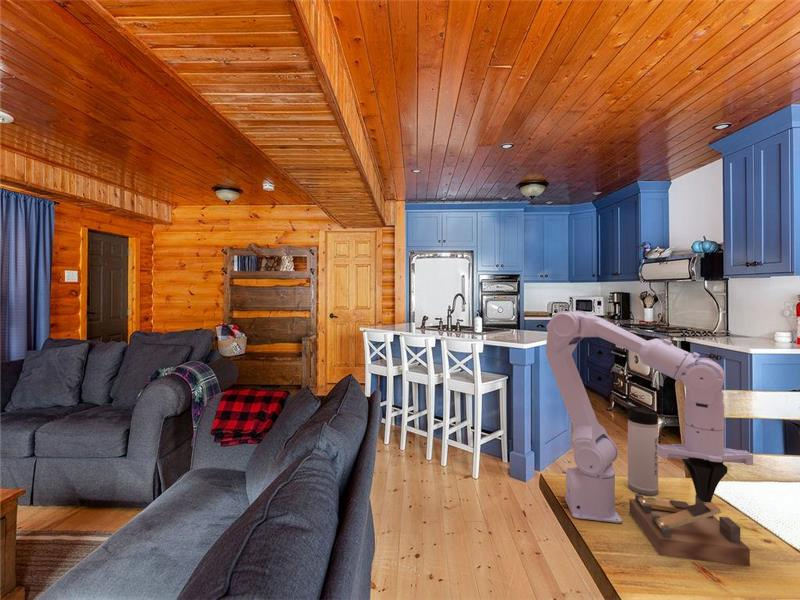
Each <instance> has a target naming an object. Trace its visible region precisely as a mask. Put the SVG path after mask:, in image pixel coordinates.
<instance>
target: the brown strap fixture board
mask: <svg viewBox="0 0 800 600" xmlns="http://www.w3.org/2000/svg"><path fill="white" fill-rule="evenodd" d="M638 497H642V498H644V495H643V494H639V493H635V494H634V498H629V502H628V503H629V505H628V506H629V507H628V508H629V514H630V516H631V517H632V519H633V520H634V521H635V522H636V524H637V525H638V527H639V529H640V530H641V531H642V532H643V534H644V536H645V537H646V538H647V539H648V541H649V542H650V544H651V545H652V547H653V548H654V550H655V551H656V552H657V553H658V555H659V556H664V557H672V558H673V557H674V558H681V559H688V560H695V561H697V560H698V561H705V562H713V563H722V564H728V565H729V564H731V565H735V566H737V565H738V566H747V567H750V566H751V563H750V561H751V558H750V557H751V549H750V548H749V546H748V545H747V544H745V543H744V542H743V541H742V540H741V526H739V525H738V524H737V523H736V522H735V521H734V520H732V519H731V518H730V517H727V516H719V519H718V518H717V517H716V516H715V515H713V516H710V517H707V518H704V519H700V520H697V521H694V522H690V523H687V524H684V525H681V526H677V527H674V528H671V529H670V528H669V527H665V526H661V528H660V527H659V526H658V525H657V523H656V522H655V519H656V518H661V517H664V516H668V515H671V514H674V513H677V512H672V511H666V510H660V509H653V508H651V505H650V504H644V503H643V506H642V505H641V503H640V502H639V501H638ZM694 500H695V504H697V503H701V502H702V501H701V500H700V499H699V498H698V497H697V496H696V494H695V499H694ZM702 503H703V504H706V503H709V502H702Z"/></svg>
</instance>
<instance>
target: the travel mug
mask: <svg viewBox="0 0 800 600" xmlns="http://www.w3.org/2000/svg"><path fill="white" fill-rule="evenodd" d="M626 410H627V415H628V417H627V487H628V488H629V489H630V490H631V491H632V490H633V491H632V492H634V491H636V492H635V493H637V492H638V493H637V494H639V493H642V494H641V495H643V494H647V495H646V496H656V495H658V493H659V455H658V454H657V445H659V414H658V412H656V411H655V410H652V409H649V408H646V407H642V406H636V405H626ZM648 494H649V495H648ZM655 494H656V495H655Z"/></svg>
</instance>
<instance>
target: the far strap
mask: <svg viewBox="0 0 800 600" xmlns="http://www.w3.org/2000/svg"><path fill="white" fill-rule="evenodd" d="M638 501H639V502H640V503H641V505H642V506H643V503H644V504H650V505H651V508H653V509H660V510H666V511H672V512H680V511H684V510H687V509H686V507H688V506H691V505H692V504H689V503H687V502H686V501H681V500H680V501H679V500H673V499H669V501H666V500H660V499H653V498H647V497H643V498H642V497H638Z"/></svg>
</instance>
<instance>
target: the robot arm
mask: <svg viewBox="0 0 800 600" xmlns="http://www.w3.org/2000/svg"><path fill="white" fill-rule="evenodd" d="M545 327H546V331H547V338H546V343H545V356H546V357H547V360H548V363H549V364H548V365H549V366H550V370H551V372H552V375H553V378H554V380H555V382H556V385H557V387H558V390H559V393H560V395H561V398H562V402H563V404H564V406H565V408H566V412H567V415H568V417H569V420H570V422H571V426H572V428H573V432H572V438H571V442H572V445H573V448H574V451H573V460H574V462H575V464H576V466H575V467H568V468H566V473H565V498H564V500H565V501H566V502H565V503H566V504H567V507H568V509H569V511H570V513H571V515H572V517H573V518H574V519H579V520H591V521H599V522H607V523H608V522H609V523H616V524H617V523H618V524H622V523H623V519H622V518H621V517H620V515H619V513H618V512H617V510H616V502H615V501H616V494H615V493H616V471H615V469H614V466H613V463H614V462H615V461H616V460H617V458H618V455H619V454H618V453H619V451H618V447H617V445H616V443H615V442H614V441H613V439H611V438H610V436H609V434H608V433H607V431H606V428H605V427H604V426H603V425H601V424H600V423H599V421H598V419H597V416H596V413H595V411H594V409H593V406H592V404H591V401H590V398H589V396H588V394H587V390H586V387H585V385H584V383H583V380H582V378H581V375H580V373H579V370H578V368H577V365H576V363H575V360H574V357H573V352H574V351H575V349H576V347H577V346H578V344H579V342H581V341H582V340H583V339H584V338H601V339H603V340H605V341H607V342H610V343H612V344H615V345H616V346H619V347H621V348H624V349H626V350H628V351H630V352H632V353H635V354H637V355H638V357H639V359H640V360H641V363H642V364H643V365H645V366H647V367H649V368H651V369H653V370H655V371H657V372H660V373H661V374H663V375H666V376H667V377H670V378H671V379H674V380H676V381H681V382H682V385H683V386H684V387H685V397H684V402H683V403H684V414H683V415H684V421H683V422H684V426H683V428H684V431H683V432H684V437H683V438H684V443H675V444H674V443H672V444H658V445H657V454H658V457H660V458H661V459H662V460H663V459H664V460H669V458H670V459H679V460H680V459H681V460H682V462H683V464H684V465H685V467H686V469H687V471H688V473H689V475H690V478H691V481H692V483H693V486H694V487H693V488H694V491H695V495H696V496H697V497H698V498H699V499H700V500H701V501H702V502H710V503H711V502H712V500H713V496H714V493H715V491H716V489H717V487H718V486H719V483H720V481H721V480H722V479H723V478H724V477H725V476H726V475H727V474H728V466H727V465H725V464H724V463H734V464H735V463H736V464H744V465H746V466H754V454H752V453H750V452H748V451H747V450H741V449H733V448H727V447H725V403H724V401H723V400H724V393H723V386H724V384H725V383H724V382H725V380H726V373H725V371H724V369H723V367H722V366H721V365H720V364H719V363H717V361H714V360H713V359H712V358H708V357H700V356H701V354H700V353H699V352H698V353H697V352H695V351H694V352H692V353H691V352H689V351H686V350H684V349H682V348H680V347H677V346H676V345H673V344H672V343H673V341H672V340H670V339H668V338H664V339H660V338H652V339H649V340H646V339H645V338H643V337H640V336H638V335H637V334H635V333H632V332H630V331H628V330H626V329H624V328H622V327H620V326H618V325H616V324H614V323H613V322H610V321H608V320H606V319H604V318H601V317H599V316H597V315H594V314H589V313H586V312H585V311H583V310H573V311H565V310H563V311H558V312H556V313H554V314H553V316H551V319H550V320H549V322H548V323H547V324H546V326H545Z"/></svg>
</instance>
